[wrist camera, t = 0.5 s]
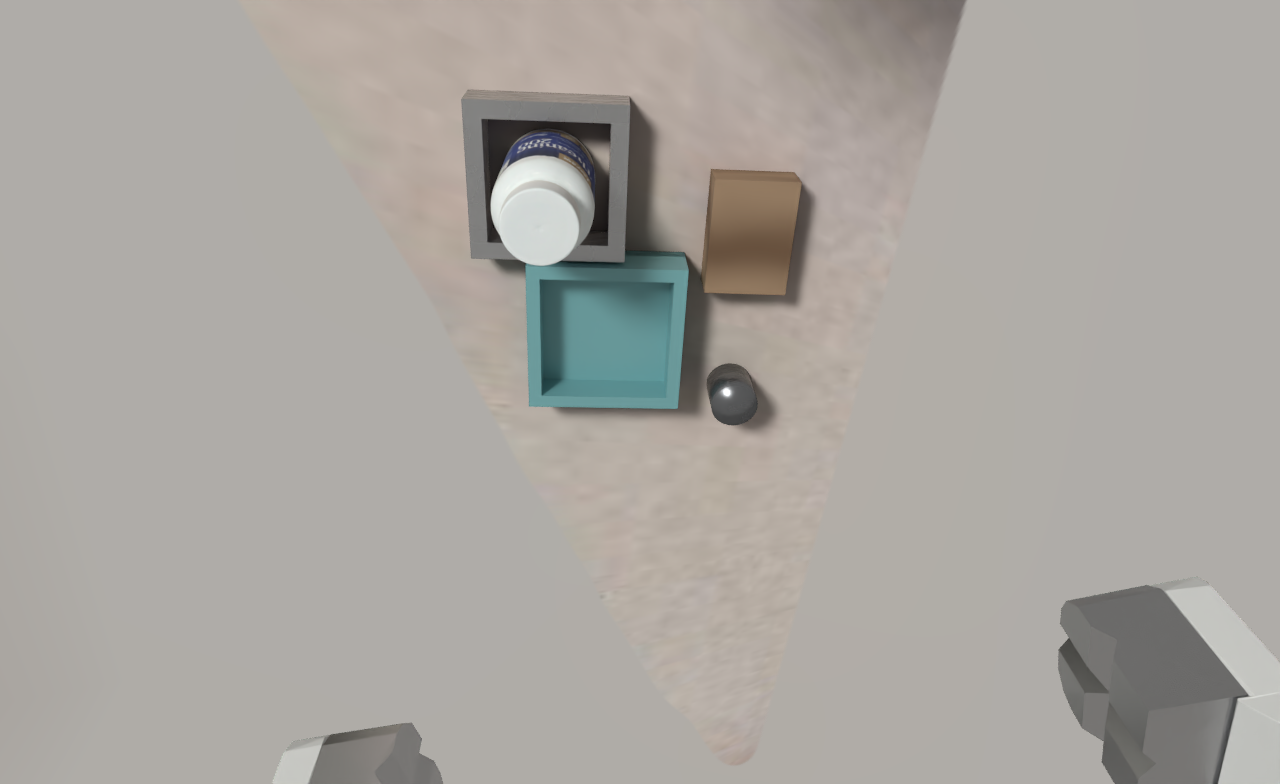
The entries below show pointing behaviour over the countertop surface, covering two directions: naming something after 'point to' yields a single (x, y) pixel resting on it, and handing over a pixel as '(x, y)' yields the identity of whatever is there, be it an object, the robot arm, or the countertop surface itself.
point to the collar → (544, 109)
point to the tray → (607, 331)
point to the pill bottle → (544, 197)
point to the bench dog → (731, 394)
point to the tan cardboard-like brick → (749, 231)
